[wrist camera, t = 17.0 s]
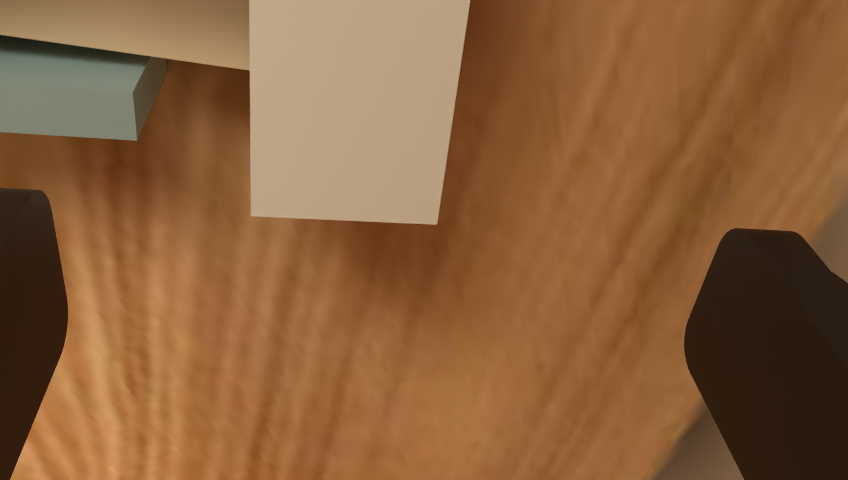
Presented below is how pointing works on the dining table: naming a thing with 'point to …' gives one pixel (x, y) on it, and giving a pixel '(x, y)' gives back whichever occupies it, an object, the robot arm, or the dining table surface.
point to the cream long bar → (138, 27)
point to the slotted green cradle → (75, 89)
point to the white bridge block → (352, 107)
